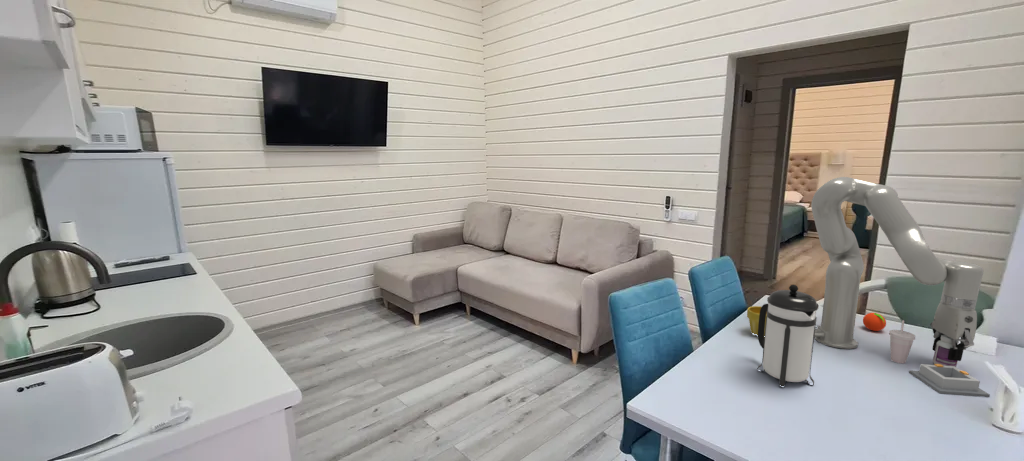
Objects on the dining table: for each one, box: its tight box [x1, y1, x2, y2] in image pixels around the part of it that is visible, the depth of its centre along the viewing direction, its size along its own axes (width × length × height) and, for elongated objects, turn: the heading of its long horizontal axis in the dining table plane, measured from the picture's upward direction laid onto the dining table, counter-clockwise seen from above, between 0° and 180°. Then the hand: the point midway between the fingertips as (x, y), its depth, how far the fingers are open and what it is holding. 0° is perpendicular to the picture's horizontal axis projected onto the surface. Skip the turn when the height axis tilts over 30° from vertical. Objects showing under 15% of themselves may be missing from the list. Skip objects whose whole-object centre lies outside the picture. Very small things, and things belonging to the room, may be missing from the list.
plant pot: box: [746, 305, 767, 336], centre depth 160 cm, size 10×10×10 cm
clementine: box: [862, 312, 887, 332], centre depth 162 cm, size 8×7×7 cm
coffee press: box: [756, 284, 820, 386], centre depth 129 cm, size 17×16×30 cm
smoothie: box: [888, 319, 916, 365], centre depth 138 cm, size 6×6×14 cm
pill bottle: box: [932, 335, 960, 368], centre depth 134 cm, size 5×5×10 cm
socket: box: [908, 363, 991, 398], centre depth 125 cm, size 12×12×4 cm
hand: (946, 354), depth 134 cm, fingers closed on pill bottle, 5 cm apart
